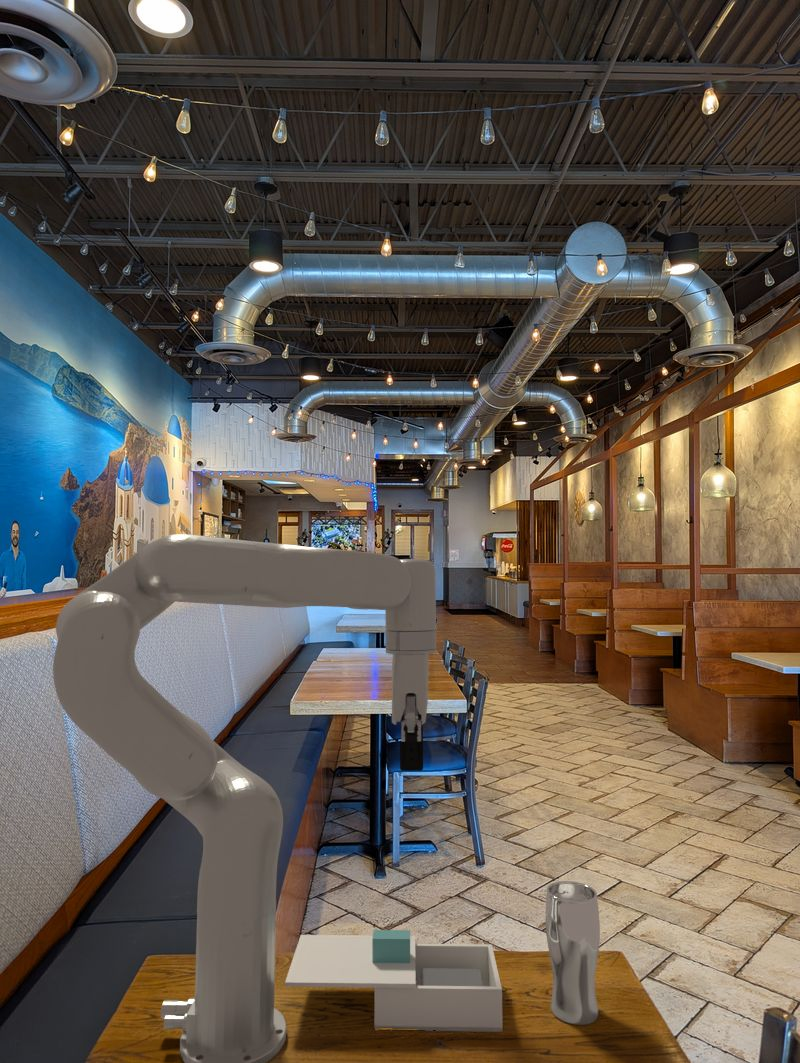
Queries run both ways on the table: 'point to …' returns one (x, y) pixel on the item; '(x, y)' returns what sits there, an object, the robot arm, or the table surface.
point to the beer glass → (573, 950)
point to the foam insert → (450, 977)
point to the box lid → (354, 961)
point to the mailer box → (445, 994)
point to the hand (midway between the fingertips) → (412, 761)
